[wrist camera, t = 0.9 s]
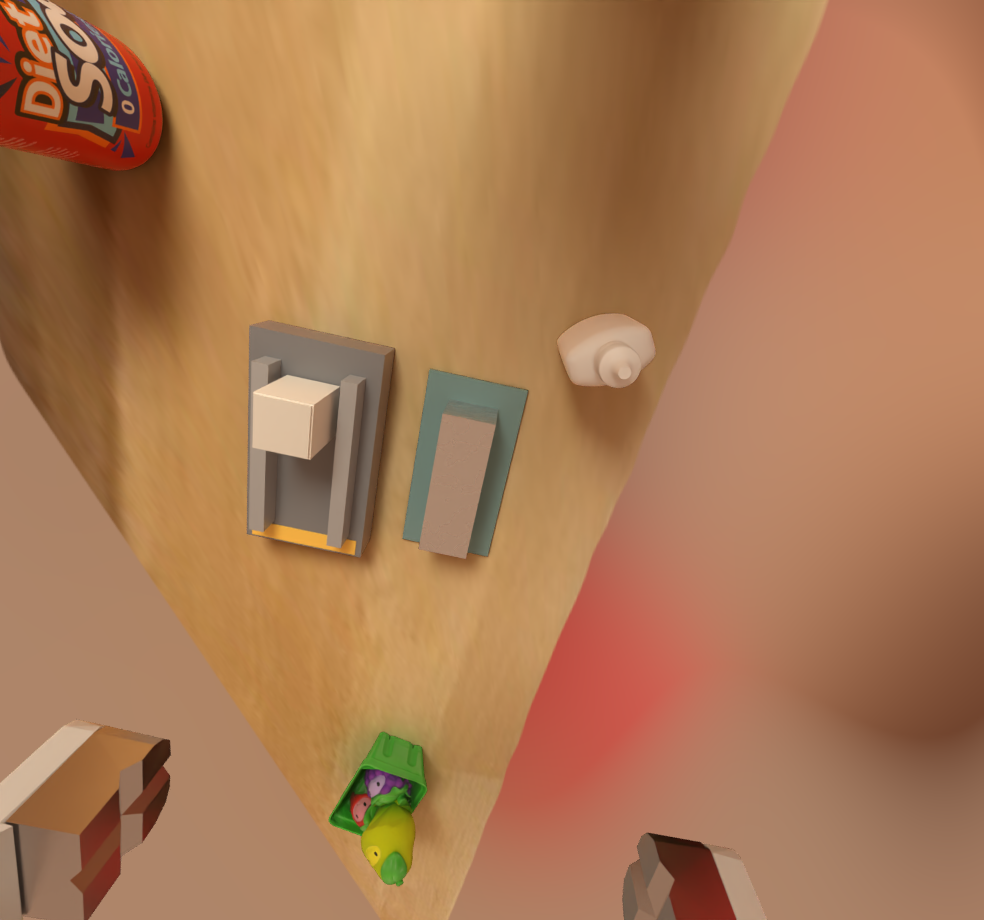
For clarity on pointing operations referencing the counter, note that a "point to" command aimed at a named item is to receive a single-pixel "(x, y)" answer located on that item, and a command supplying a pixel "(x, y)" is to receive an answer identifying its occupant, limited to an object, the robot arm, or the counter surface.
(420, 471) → the mat
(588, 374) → the eye dropper bottle
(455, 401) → the bar
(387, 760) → the fruit basket
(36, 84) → the soda can
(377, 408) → the switch panel
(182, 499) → the counter surface
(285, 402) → the switch tab
